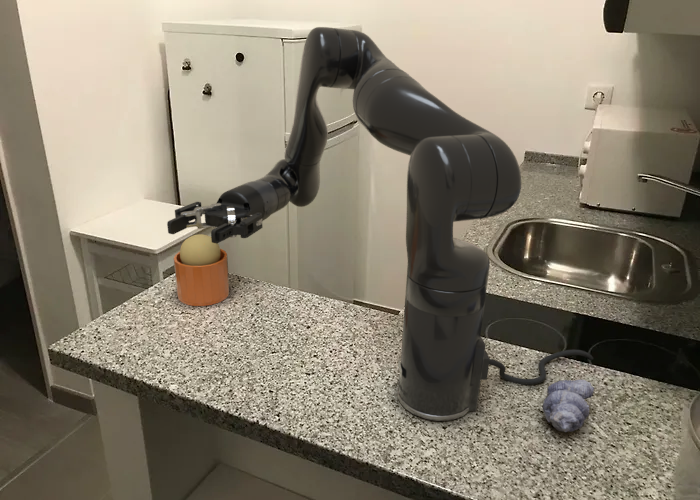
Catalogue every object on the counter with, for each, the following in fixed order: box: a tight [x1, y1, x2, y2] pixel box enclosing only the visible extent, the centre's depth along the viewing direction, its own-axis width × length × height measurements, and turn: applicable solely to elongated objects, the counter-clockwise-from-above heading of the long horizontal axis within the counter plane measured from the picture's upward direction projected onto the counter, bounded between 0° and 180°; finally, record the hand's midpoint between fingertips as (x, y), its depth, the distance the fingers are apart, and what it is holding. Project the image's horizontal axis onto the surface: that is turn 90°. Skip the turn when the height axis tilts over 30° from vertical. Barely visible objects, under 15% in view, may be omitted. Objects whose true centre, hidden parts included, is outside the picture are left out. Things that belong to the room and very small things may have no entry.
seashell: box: [542, 379, 595, 433], centre depth 70 cm, size 5×5×10 cm
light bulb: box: [179, 233, 221, 266], centre depth 96 cm, size 6×6×10 cm
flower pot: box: [173, 248, 230, 307], centre depth 97 cm, size 8×8×7 cm
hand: (190, 232), depth 92 cm, fingers open, 8 cm apart
